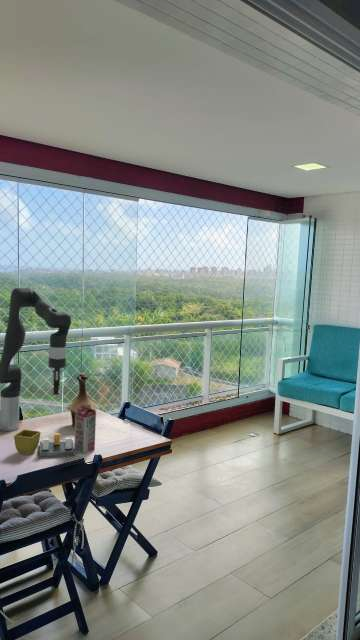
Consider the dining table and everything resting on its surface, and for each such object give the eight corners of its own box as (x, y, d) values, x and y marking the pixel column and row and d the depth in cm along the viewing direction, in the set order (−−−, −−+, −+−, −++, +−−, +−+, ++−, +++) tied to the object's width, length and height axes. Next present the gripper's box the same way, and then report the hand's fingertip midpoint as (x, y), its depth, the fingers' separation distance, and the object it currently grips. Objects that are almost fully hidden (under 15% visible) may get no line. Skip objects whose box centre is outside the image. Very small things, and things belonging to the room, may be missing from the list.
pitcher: (62, 421, 268) (64, 371, 265) (93, 419, 275) (95, 370, 272) (70, 431, 252) (71, 378, 249) (102, 428, 259) (103, 376, 257)
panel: (39, 457, 216) (39, 452, 215) (40, 445, 231) (40, 440, 231) (74, 456, 219) (74, 451, 219) (72, 443, 235) (72, 439, 235)
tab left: (42, 449, 218) (42, 439, 218) (42, 448, 220) (42, 438, 220) (48, 449, 219) (48, 439, 219) (48, 447, 221) (48, 438, 221)
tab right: (65, 448, 221) (65, 439, 221) (65, 447, 223) (65, 437, 223) (71, 448, 222) (71, 438, 221) (71, 446, 224) (71, 437, 223)
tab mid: (53, 444, 226) (54, 435, 225) (53, 443, 228) (54, 433, 227) (59, 444, 226) (59, 434, 226) (59, 442, 228) (59, 433, 228)
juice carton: (85, 446, 232) (86, 401, 230) (94, 450, 228) (96, 403, 226) (74, 449, 227) (75, 403, 225) (83, 453, 223) (84, 406, 221)
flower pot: (31, 457, 216) (31, 437, 215) (13, 455, 217) (13, 435, 217) (40, 450, 224) (41, 431, 223) (23, 448, 226) (23, 429, 225)
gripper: (48, 353, 224) (47, 390, 226) (48, 359, 211) (47, 398, 213) (65, 353, 226) (64, 390, 228) (66, 359, 213) (64, 398, 215)
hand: (55, 394), depth 220 cm, fingers closed
